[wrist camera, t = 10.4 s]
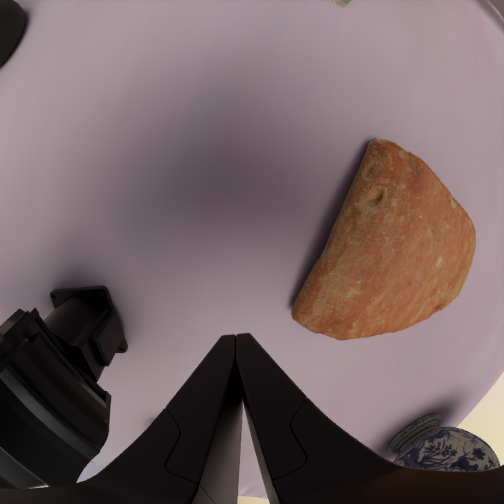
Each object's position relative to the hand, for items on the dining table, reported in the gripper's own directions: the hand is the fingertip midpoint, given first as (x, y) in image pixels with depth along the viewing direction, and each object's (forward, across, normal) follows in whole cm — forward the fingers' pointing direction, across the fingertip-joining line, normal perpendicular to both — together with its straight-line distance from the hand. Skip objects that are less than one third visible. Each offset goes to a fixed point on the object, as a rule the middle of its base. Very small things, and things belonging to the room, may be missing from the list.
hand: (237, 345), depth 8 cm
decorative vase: (+12, -26, +37) cm, 47 cm away
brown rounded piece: (+13, -13, +3) cm, 18 cm away
